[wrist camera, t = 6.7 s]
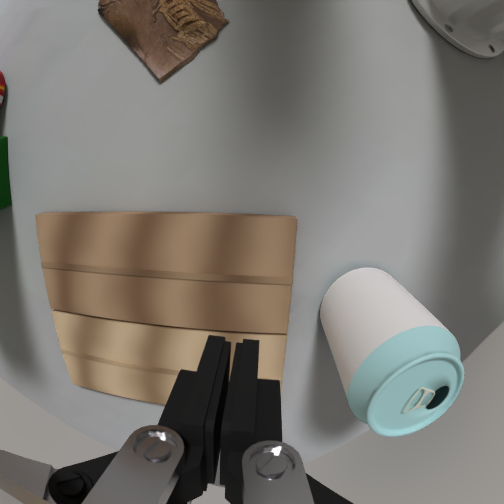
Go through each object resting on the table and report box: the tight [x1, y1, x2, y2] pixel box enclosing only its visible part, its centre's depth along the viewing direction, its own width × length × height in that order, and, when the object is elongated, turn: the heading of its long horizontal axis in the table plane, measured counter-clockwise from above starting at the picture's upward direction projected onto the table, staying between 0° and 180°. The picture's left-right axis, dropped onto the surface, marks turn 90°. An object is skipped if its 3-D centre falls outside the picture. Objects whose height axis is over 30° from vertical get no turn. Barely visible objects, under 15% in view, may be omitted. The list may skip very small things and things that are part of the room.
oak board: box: [52, 309, 287, 405], centre depth 25 cm, size 22×9×1 cm, turn 88°
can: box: [320, 268, 464, 437], centre depth 18 cm, size 7×7×12 cm
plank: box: [36, 212, 297, 334], centre depth 23 cm, size 22×9×1 cm, turn 88°
